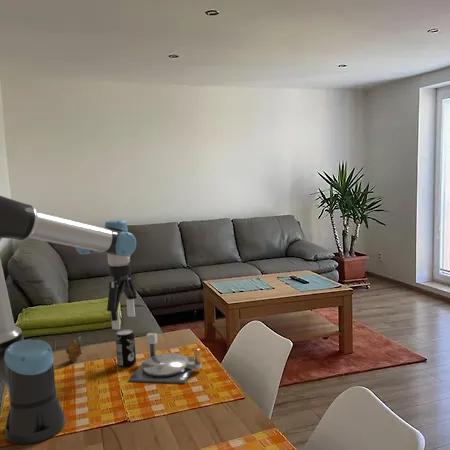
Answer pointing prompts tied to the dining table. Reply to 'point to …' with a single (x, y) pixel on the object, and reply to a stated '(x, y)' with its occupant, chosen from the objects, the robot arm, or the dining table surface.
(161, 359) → the turntable
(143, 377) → the turntable base
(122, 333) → the beverage can
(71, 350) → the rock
